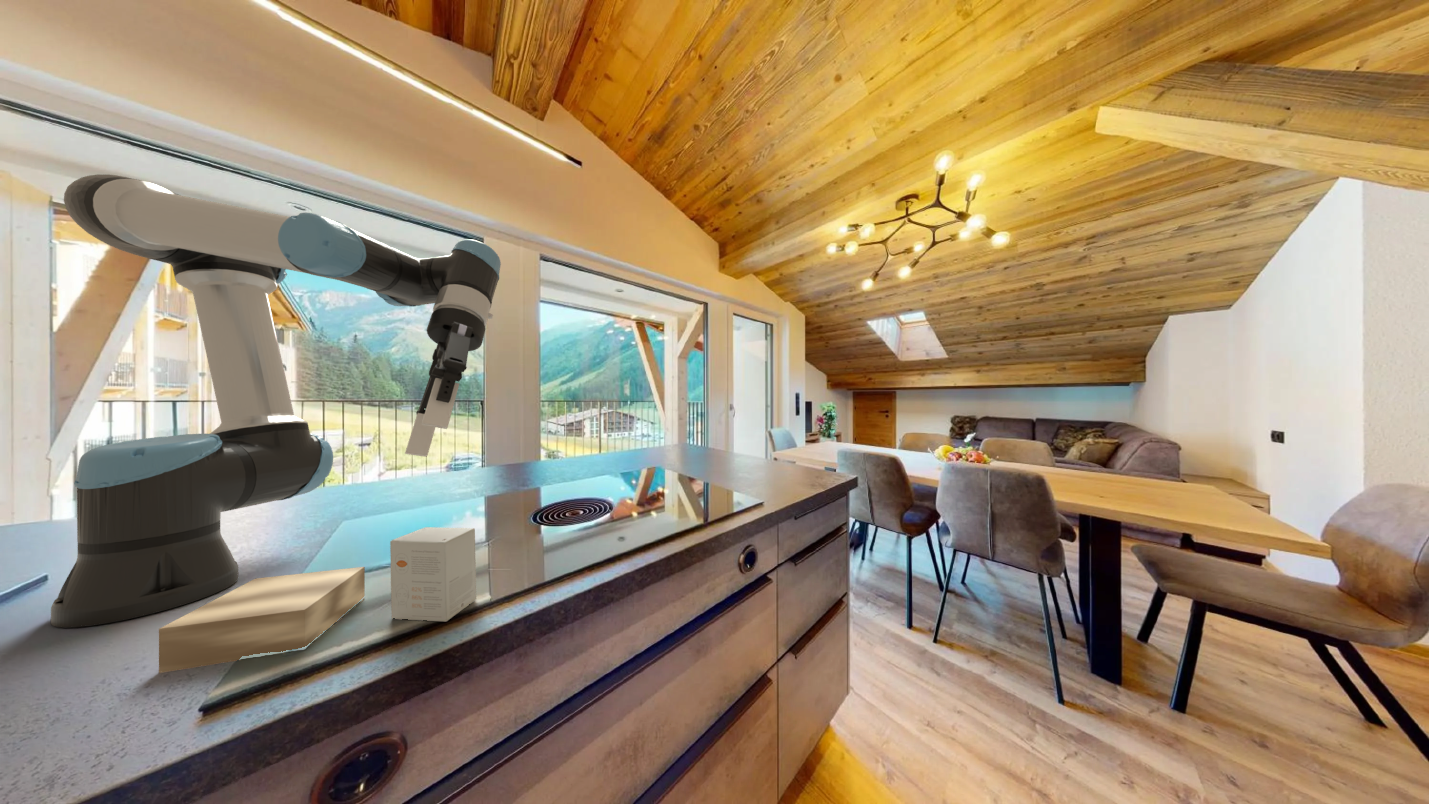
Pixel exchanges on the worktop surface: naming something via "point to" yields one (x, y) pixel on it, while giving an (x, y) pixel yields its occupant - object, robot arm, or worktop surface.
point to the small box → (432, 573)
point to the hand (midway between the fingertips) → (424, 441)
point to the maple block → (260, 618)
